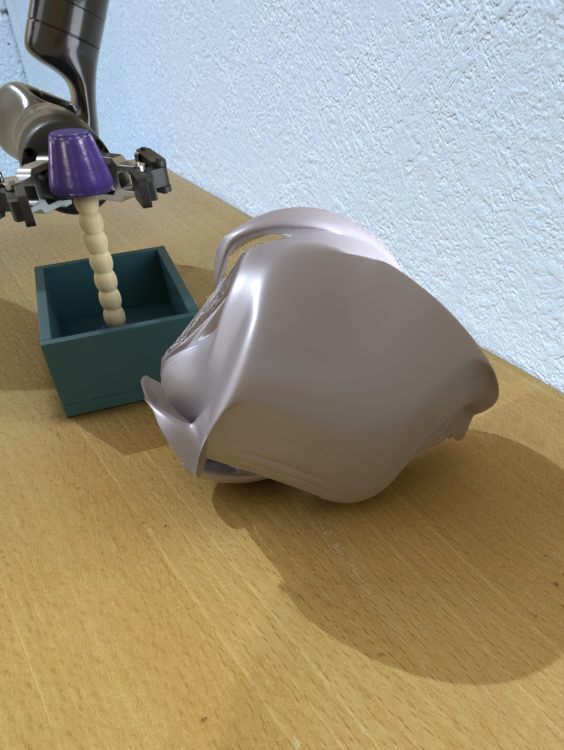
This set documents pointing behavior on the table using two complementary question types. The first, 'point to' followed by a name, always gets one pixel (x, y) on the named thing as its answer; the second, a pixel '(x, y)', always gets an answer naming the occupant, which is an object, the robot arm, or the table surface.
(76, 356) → the bin
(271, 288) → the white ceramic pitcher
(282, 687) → the table surface
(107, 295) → the toy lamp
